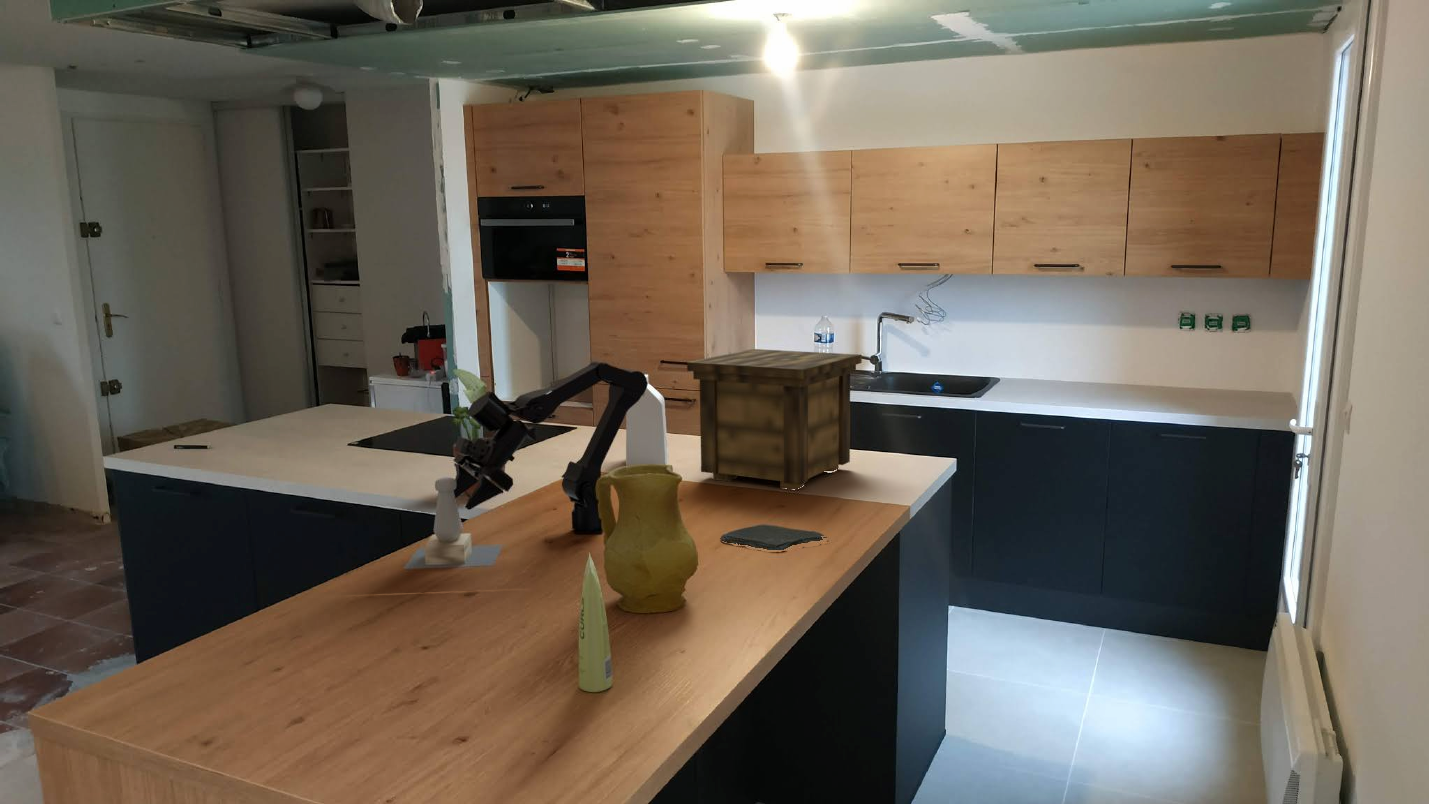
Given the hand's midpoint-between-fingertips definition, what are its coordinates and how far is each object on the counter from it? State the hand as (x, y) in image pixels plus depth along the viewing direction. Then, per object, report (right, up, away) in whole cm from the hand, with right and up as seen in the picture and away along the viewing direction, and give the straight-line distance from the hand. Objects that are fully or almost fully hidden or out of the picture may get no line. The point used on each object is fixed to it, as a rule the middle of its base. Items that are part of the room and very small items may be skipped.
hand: (458, 504), depth 208 cm
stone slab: (+67, -10, +9) cm, 68 cm away
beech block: (-2, -11, 0) cm, 11 cm away
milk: (+34, +3, +87) cm, 94 cm away
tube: (+36, -21, -60) cm, 73 cm away
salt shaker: (-2, -8, 0) cm, 8 cm away
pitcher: (+42, -15, -25) cm, 51 cm away
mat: (-1, -11, +1) cm, 11 cm away
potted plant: (-7, -3, +55) cm, 55 cm away
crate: (+71, +1, +70) cm, 99 cm away
